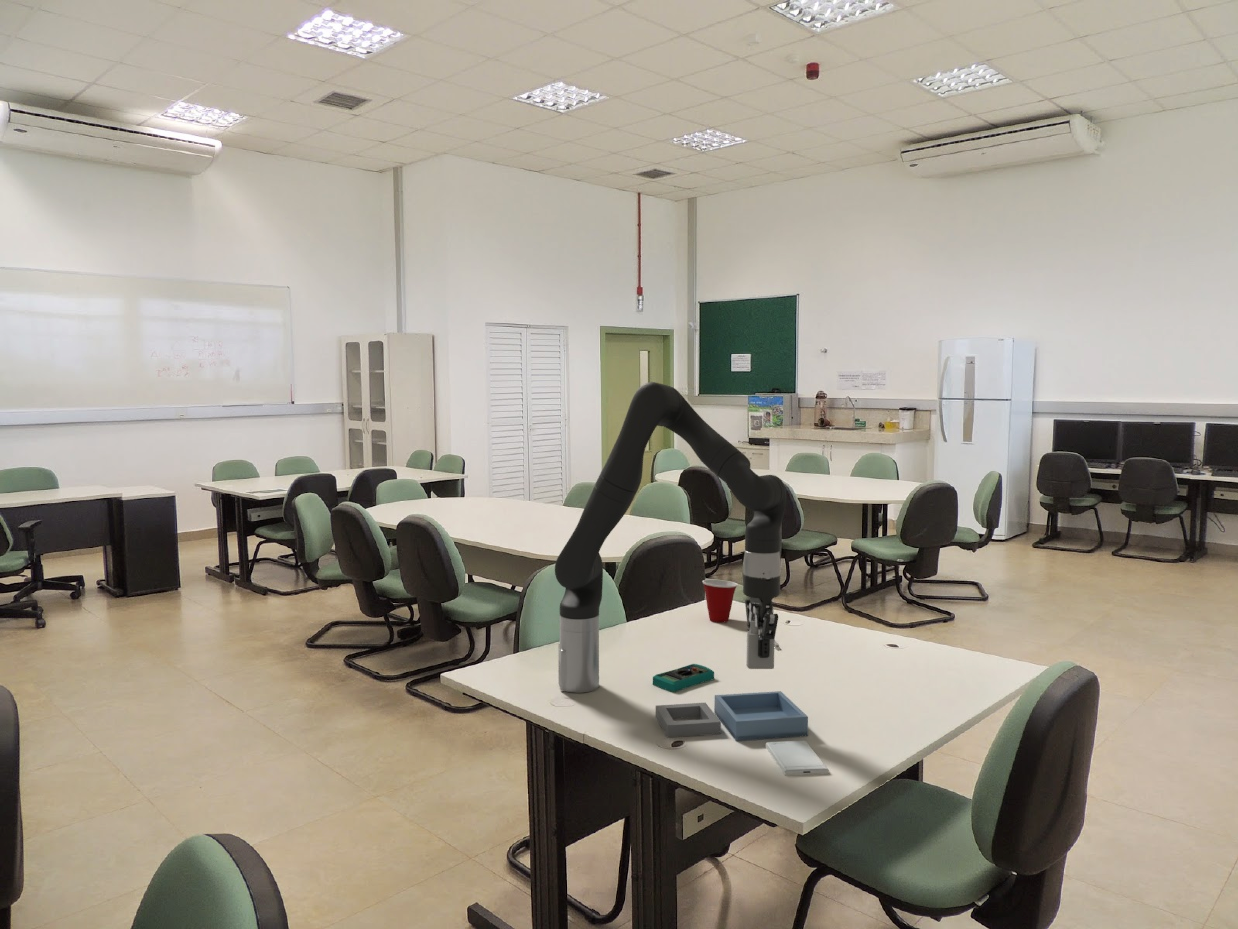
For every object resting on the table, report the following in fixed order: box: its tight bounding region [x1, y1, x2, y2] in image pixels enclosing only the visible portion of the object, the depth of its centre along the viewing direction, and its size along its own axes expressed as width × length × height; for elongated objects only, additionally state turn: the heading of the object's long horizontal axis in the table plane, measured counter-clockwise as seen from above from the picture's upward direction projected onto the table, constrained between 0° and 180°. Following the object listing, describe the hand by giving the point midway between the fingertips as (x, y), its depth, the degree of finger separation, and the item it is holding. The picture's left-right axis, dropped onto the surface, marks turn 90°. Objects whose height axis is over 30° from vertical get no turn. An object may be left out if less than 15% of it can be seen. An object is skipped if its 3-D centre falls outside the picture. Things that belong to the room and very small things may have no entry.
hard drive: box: [765, 740, 829, 776], centre depth 160 cm, size 2×8×12 cm
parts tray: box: [713, 690, 809, 742], centre depth 177 cm, size 15×15×4 cm
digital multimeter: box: [652, 663, 715, 693], centre depth 203 cm, size 7×15×3 cm, turn 131°
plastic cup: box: [702, 579, 739, 623], centre depth 258 cm, size 11×11×12 cm
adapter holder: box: [655, 702, 722, 738], centre depth 176 cm, size 11×11×2 cm
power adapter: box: [746, 620, 776, 670], centre depth 175 cm, size 3×5×12 cm, turn 91°
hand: (760, 654), depth 176 cm, fingers closed on power adapter, 3 cm apart
